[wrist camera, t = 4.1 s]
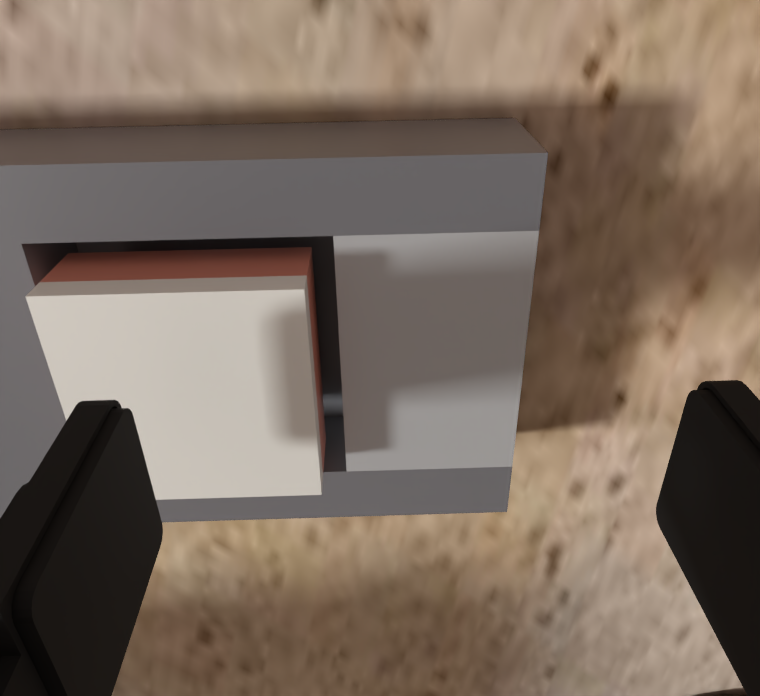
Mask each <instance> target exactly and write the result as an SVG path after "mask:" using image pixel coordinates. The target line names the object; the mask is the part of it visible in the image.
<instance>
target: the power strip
mask: <svg viewBox="0 0 760 696" xmlns="http://www.w3.org/2000/svg"><path fill="white" fill-rule="evenodd" d="M547 158H548V152H547V151H546V150H545V149H544V148H543V147H542V146H541V145H540V144H539V143H538V142H537V141H536V140H535V139H534V137H533V136H532V135H531V134H530V133H529V132H528V131H527V130H526V129H525V128H524V127H523V126H522V125H521V124H520V123H519V122H518V121H517V120H516V119H515V118H489V119H445V120H401V121H357V122H313V123H269V124H225V125H181V126H138V127H94V128H50V129H6V130H0V518H1V517H2V515H3V513H4V512H5V510H6V509H7V507H8V505H9V504H10V502H11V501H12V499H13V497H14V496H15V494H16V493H17V491H18V490H19V489H20V488H21V487H22V485H24V484H26V483H28V482H29V481H30V480H31V478H32V476H33V475H34V473H35V471H36V470H37V468H38V467H39V465H40V463H41V462H42V460H43V458H44V457H45V455H46V453H47V452H48V450H49V449H50V447H51V445H52V444H53V442H54V440H55V439H56V437H57V436H58V434H59V432H60V431H61V429H62V427H63V426H64V424H65V422H66V418H65V415H64V412H63V409H62V406H61V403H60V400H59V397H58V394H57V391H56V388H55V385H54V382H53V379H52V376H51V373H50V370H49V367H48V364H47V361H46V358H45V355H44V352H43V349H42V346H41V343H40V339H39V336H38V333H37V330H36V327H35V324H34V321H33V318H32V315H31V312H30V309H29V306H28V303H27V300H26V297H25V296H26V295H27V294H28V293H29V292H30V291H31V290H32V289H33V288H34V287H35V286H36V285H37V284H38V283H39V282H40V281H41V280H42V279H43V278H44V277H45V276H46V275H47V274H48V273H49V272H50V271H51V270H52V269H53V268H54V267H55V266H56V265H57V264H58V263H59V262H60V261H61V260H62V259H63V258H64V257H65V256H66V255H67V254H68V253H93V252H133V251H173V250H212V249H252V248H292V247H312V260H313V273H314V286H315V299H316V313H317V326H318V339H319V352H320V366H321V379H322V392H323V405H324V418H325V432H326V443H325V457H324V470H323V484H322V495H301V496H267V497H234V498H200V499H167V500H156V502H157V506H158V510H159V513H160V517H161V521H162V522H187V521H220V520H253V519H286V518H319V517H352V516H385V515H418V514H451V513H484V512H507V507H508V498H509V490H510V481H511V472H512V463H513V455H514V446H515V437H516V429H517V420H518V411H519V402H520V394H521V385H522V376H523V367H524V359H525V350H526V341H527V332H528V324H529V315H530V306H531V297H532V289H533V280H534V271H535V263H536V254H537V245H538V236H539V228H540V219H541V210H542V201H543V193H544V184H545V175H546V166H547Z"/></svg>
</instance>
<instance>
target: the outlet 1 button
mask: <svg viewBox="0 0 760 696" xmlns="http://www.w3.org/2000/svg"><path fill="white" fill-rule="evenodd" d="M25 297H26V300H27V303H28V306H29V309H30V312H31V315H32V318H33V321H34V324H35V327H36V330H37V333H38V336H39V339H40V343H41V346H42V349H43V352H44V355H45V358H46V361H47V364H48V367H49V370H50V373H51V376H52V379H53V382H54V385H55V388H56V391H57V394H58V397H59V400H60V403H61V406H62V409H63V412H64V415H65V418H66V421H67V419H68V418H69V416H70V414H71V413H72V411H73V409H74V408H75V406H76V405H77V404H78V403H79V402H81V401H93V400H116V401H118V402H119V403H120V405H121V407H122V408H129V409H130V410H131V411H132V414H133V417H134V420H135V424H136V428H137V432H138V435H139V439H140V443H141V446H142V450H143V454H144V458H145V461H146V465H147V469H148V473H149V476H150V480H151V484H152V487H153V491H154V495H155V499H156V500H167V499H200V498H234V497H267V496H301V495H322V484H323V470H324V457H325V443H326V432H325V418H324V405H323V392H322V379H321V366H320V352H319V339H318V326H317V313H316V299H315V286H314V273H313V260H312V247H292V248H252V249H212V250H173V251H133V252H93V253H68V254H67V255H66V256H65V257H64V258H63V259H62V260H61V261H60V262H59V263H58V264H57V265H56V266H55V267H54V268H53V269H52V270H51V271H50V272H49V273H48V274H47V275H46V276H45V277H44V278H43V279H42V280H41V281H40V282H39V283H38V284H37V285H36V286H35V287H34V288H33V289H32V290H31V291H30V292H29V293H28V294H27V295H26V296H25Z"/></svg>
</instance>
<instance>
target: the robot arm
mask: <svg viewBox="0 0 760 696" xmlns="http://www.w3.org/2000/svg"><path fill="white" fill-rule="evenodd" d="M656 515H657V521H658V524H659V527H660V529H661V531H662V533H663V535H664V537H665V538H666V540H667V542H668V544H669V546H670V548H671V550H672V552H673V554H674V556H675V558H676V559H677V561H678V563H679V565H680V567H681V569H682V571H683V573H684V575H685V577H686V579H687V581H688V582H689V584H690V586H691V588H692V590H693V592H694V594H695V596H696V598H697V600H698V602H699V604H700V605H701V607H702V609H703V611H704V613H705V615H706V617H707V619H708V621H709V623H710V625H711V626H712V628H713V630H714V632H715V634H716V636H717V638H718V640H719V642H720V644H721V646H722V648H723V649H724V651H725V653H726V655H727V657H728V659H729V661H730V663H731V665H732V667H733V669H734V670H735V672H736V674H737V676H738V678H739V680H740V682H741V684H742V686H743V688H744V690H745V692H746V693H747V695H748V696H760V400H759V399H758V398H757V397H756V396H755V395H754V394H753V392H752V391H751V390H750V389H749V388H748V387H747V386H746V385H745V384H744V383H743V382H742V381H738V380H731V381H705V382H702V383H701V384H700V385H699V386H698V389H697V390H693V391H691V392H690V393H689V394H688V397H687V400H686V403H685V407H684V410H683V414H682V417H681V421H680V424H679V428H678V431H677V435H676V438H675V442H674V446H673V449H672V453H671V456H670V460H669V463H668V467H667V470H666V474H665V477H664V481H663V484H662V488H661V491H660V495H659V499H658V502H657V507H656ZM162 533H163V529H162V521H161V517H160V513H159V510H158V506H157V502H156V499H155V495H154V491H153V487H152V484H151V480H150V476H149V473H148V469H147V465H146V461H145V458H144V454H143V450H142V446H141V443H140V439H139V435H138V432H137V428H136V424H135V420H134V417H133V414H132V411H131V410H130V409H129V408H122V407H121V405H120V403H119V402H118V401H116V400H93V401H81V402H79V403H78V404H77V405H76V406H75V408H74V409H73V411H72V413H71V414H70V416H69V418H68V419H67V421H66V422H65V424H64V426H63V427H62V429H61V431H60V432H59V434H58V436H57V437H56V439H55V440H54V442H53V444H52V445H51V447H50V449H49V450H48V452H47V453H46V455H45V457H44V458H43V460H42V462H41V463H40V465H39V467H38V468H37V470H36V471H35V473H34V475H33V476H32V478H31V480H30V481H29V482H28V483H26V484H24V485H22V487H21V488H20V489H19V490H18V491H17V493H16V494H15V496H14V497H13V499H12V501H11V502H10V504H9V505H8V507H7V509H6V510H5V512H4V513H3V515H2V517H1V518H0V696H111V695H112V692H113V689H114V686H115V683H116V680H117V677H118V674H119V671H120V668H121V665H122V662H123V659H124V656H125V653H126V650H127V646H128V643H129V640H130V637H131V634H132V631H133V628H134V625H135V622H136V619H137V616H138V613H139V610H140V607H141V604H142V601H143V598H144V595H145V591H146V588H147V585H148V582H149V579H150V576H151V573H152V570H153V567H154V564H155V561H156V558H157V555H158V552H159V549H160V546H161V542H162Z"/></svg>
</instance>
